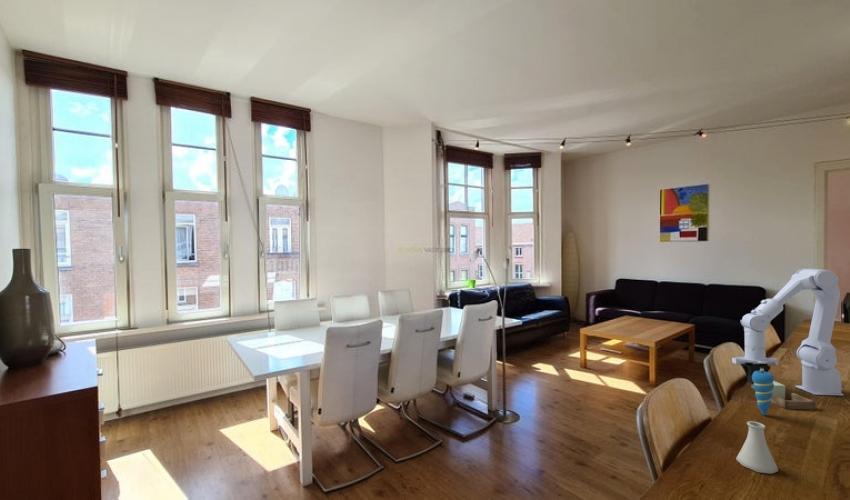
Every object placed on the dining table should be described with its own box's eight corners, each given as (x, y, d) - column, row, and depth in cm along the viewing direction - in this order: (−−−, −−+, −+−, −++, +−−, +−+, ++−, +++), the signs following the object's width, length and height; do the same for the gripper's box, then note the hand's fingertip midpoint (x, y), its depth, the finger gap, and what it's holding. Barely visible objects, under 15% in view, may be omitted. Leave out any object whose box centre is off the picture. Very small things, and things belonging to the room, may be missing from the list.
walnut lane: (815, 409, 120) (815, 402, 120) (784, 408, 121) (784, 401, 121) (794, 400, 128) (794, 393, 128) (766, 399, 128) (766, 392, 128)
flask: (729, 458, 93) (728, 418, 93) (756, 456, 94) (755, 416, 94) (757, 475, 86) (756, 432, 86) (786, 473, 86) (785, 430, 86)
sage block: (785, 398, 129) (785, 384, 129) (769, 398, 129) (769, 383, 129) (761, 387, 139) (761, 374, 139) (746, 387, 140) (746, 373, 140)
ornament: (779, 419, 113) (778, 370, 113) (759, 418, 114) (758, 369, 114) (767, 412, 118) (766, 364, 118) (748, 411, 120) (747, 364, 120)
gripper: (741, 349, 136) (742, 386, 136) (785, 349, 134) (785, 387, 134) (727, 344, 143) (728, 380, 143) (769, 344, 141) (769, 380, 141)
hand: (755, 383), depth 139 cm, fingers closed on sage block
